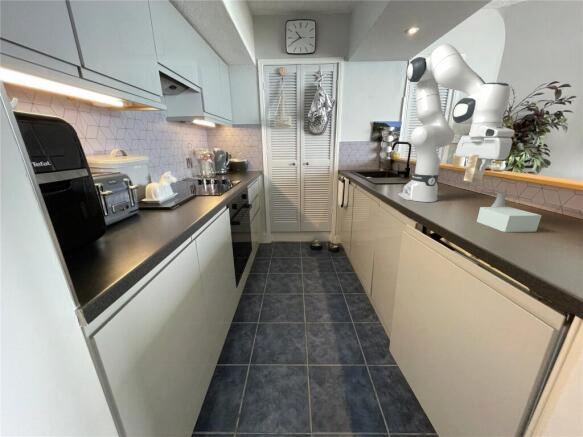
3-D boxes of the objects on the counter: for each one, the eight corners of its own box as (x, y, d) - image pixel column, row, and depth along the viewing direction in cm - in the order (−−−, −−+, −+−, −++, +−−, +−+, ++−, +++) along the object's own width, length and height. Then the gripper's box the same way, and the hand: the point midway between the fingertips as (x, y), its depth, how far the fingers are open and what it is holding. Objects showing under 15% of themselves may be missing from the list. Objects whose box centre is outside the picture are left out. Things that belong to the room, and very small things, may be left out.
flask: (507, 219, 97) (514, 196, 94) (485, 216, 101) (491, 193, 98) (506, 215, 102) (512, 193, 99) (484, 212, 107) (490, 191, 104)
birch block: (463, 180, 93) (469, 154, 90) (472, 180, 93) (479, 154, 90) (471, 182, 89) (478, 154, 86) (481, 182, 89) (488, 155, 86)
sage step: (476, 221, 94) (480, 207, 92) (504, 221, 95) (508, 206, 93) (504, 232, 83) (509, 215, 81) (536, 231, 83) (541, 215, 82)
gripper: (455, 133, 95) (447, 167, 99) (502, 130, 76) (490, 173, 80) (469, 133, 96) (461, 167, 100) (520, 131, 76) (507, 173, 81)
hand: (474, 170), depth 90 cm, fingers closed on birch block, 4 cm apart
